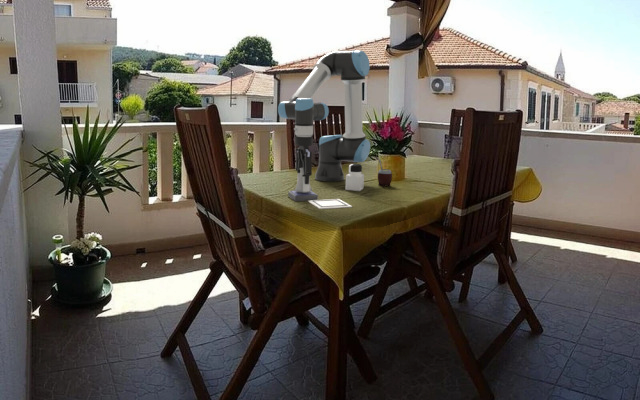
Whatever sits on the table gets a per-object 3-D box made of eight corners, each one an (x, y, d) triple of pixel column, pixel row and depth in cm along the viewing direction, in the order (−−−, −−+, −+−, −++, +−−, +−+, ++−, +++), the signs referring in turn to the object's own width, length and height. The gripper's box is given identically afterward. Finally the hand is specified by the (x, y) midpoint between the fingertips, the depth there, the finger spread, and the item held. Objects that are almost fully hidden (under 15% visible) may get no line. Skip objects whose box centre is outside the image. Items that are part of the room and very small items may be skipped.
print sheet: (339, 199, 209) (339, 198, 209) (352, 207, 196) (352, 205, 196) (307, 201, 204) (308, 200, 204) (319, 209, 192) (319, 207, 191)
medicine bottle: (363, 188, 235) (364, 163, 232) (359, 191, 228) (360, 165, 226) (349, 187, 237) (350, 162, 235) (345, 190, 231) (346, 164, 228)
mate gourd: (393, 185, 245) (394, 155, 242) (388, 188, 238) (390, 157, 235) (378, 183, 248) (380, 154, 245) (373, 186, 242) (375, 156, 238)
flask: (301, 188, 215) (301, 166, 213) (315, 190, 211) (315, 168, 209) (291, 191, 210) (291, 168, 207) (305, 193, 206) (305, 170, 203)
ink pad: (310, 195, 217) (310, 189, 217) (317, 199, 208) (317, 194, 207) (288, 196, 214) (288, 190, 213) (295, 201, 205) (295, 195, 204)
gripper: (288, 133, 213) (288, 185, 218) (302, 138, 195) (302, 194, 200) (305, 133, 215) (304, 184, 221) (320, 138, 197) (319, 193, 202)
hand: (303, 189), depth 210 cm, fingers closed on flask, 7 cm apart
